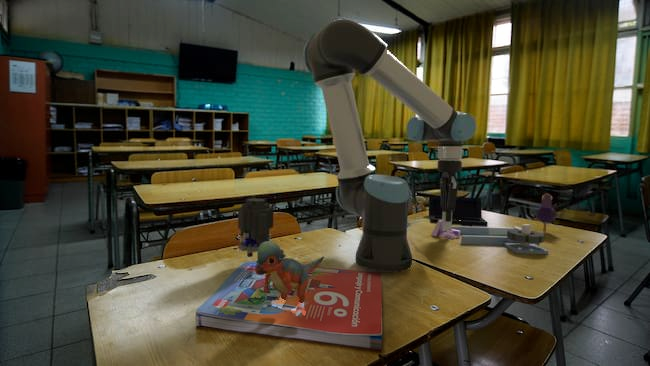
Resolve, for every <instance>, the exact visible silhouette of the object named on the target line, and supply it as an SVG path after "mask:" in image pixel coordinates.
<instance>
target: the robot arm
mask: <svg viewBox="0 0 650 366" xmlns="http://www.w3.org/2000/svg"><path fill="white" fill-rule="evenodd" d="M302 59H303V63H304V65H305V68H306V69H307V71H308V72H309V73H311V74H312V77H313V81H314V85H316V86H317V87H319V88H320V89H321V92H322V97H323V100H324V103H325V110H326V114H327V117H328V122H329V126H330V130H331V134H332V138H333V143H334V147H335V148H334V149H335V151H336V156H337V160H338V164H339V172H338V173H337V175H336V179H337V186H336V188H335V197H336V201H337V203H338V205H339V206H340V207H341V208H342V209H343V210H344V211H345V212H347V213H348V214H351V215H353V216H357V217H360V218H363V219H362V221H363V223H362V235H361V238H360V239H359V243H358V247H357V249H356V252H355V260H354V261H356V262H355V264H356V263H357V264H358V266H359V267H361V268H364V269H366V270H370V271H375V270H376V272H387V273H389V272H390V273H391V272H393V273H394V271H396V272H402V271H401V270H404V271H407V270H409V269H411V268H412V267H411V265H412V266H413V256H412V250H411V247H410V244H409V240H408V236H407V232H408V230H407V229H408V227H407V222H408V213H409V212H408V200H409V189H410V186H409V184H408V182H407V180H405V179H403V178H402V177H398V176H394V175H388V174H377V170H376V167H375V166H374V165H372V164H370V162H369V158H368V154H367V147H366V144H365V140H364V134H363V130H362V125H361V120H360V116H359V111H358V107H357V101H356V98H355V93H354V89H353V85H352V84H353V83H352V81H353V79H354V77H355V74H356V72H357V73H358V74H359V75H361V76H369V77H370V78H371V79H372V80H374V82H375V83H377V84H379V85H380V86H381V87H382V88H384V90H386V91H388V93H389V94H391V95H392V96H393V97H395V98H396V99H397V100H398V101H399V102H401V103H402V104H403V105H404V106H406V107H407V108H408V109H409V110H411V112H413V113H414V114H415V115H416V116H413V117H411V118H410V119H409V120H407V122H406V128H405V132H406V135H407V138H408V139H409V140H410V141H412V142H414V141H415V142H416V141H417V142H438V145H437V146H438V147H437V159H439V160H438V161H437V171H438V172H439V173H442V176H441V178H440V179H439V184H440V185H439V186H440V187H439V189H440V190H439V191H440V195H439V196H441V207H442V211H443V216H442V230H443V231H451V230H452V226H453V224H452V212H453V211H455V206H456V198H457V197H458V191H459V186H460V183H459V182H458V181H457V180H458V178H457V173H461V172H462V170H463V169H462V167H463V162H462V161H461V159H463V153H464V152H465V151H464V149H463V143H464V141H468V140H471V139H472V137H473V136H474V135H475V133H476V132H477V131H476V130H477V122H476V119H475V117H474V116H473V115H472V114H470V113H467V112H466V113H465V112H461V111H457V110H456V109H454V108H453V107H452V106H451V105H450V104H449V103H448V102H446V101H445V100H444V99H443V98H441V96H440V95H438V94H437V93H436V92H435V91H434V90H433V89H432V88H430V87H429V86H428V85H427V84H426V83H424V82H423V81H422V80H421V79H420V78H419V77H418V76H417V75H416V74H415V73H413V72H412V71H411V70H410V69H409V68H408V67H406V65H404V64H403V63H402V62H401V61H399V59H397V57H395V56H394V55H393V54H392V53H391V52H390V51H389V50H388V44H387V43H386V42H385V41H383V39H381V38H380V37H379V36H378V35H377V34H376V33H374V31H373V32H372V31H371V30H370V29H369V28H367V27H365V26H364V25H362V24H360V23H359V22H357V21H354V20H352V19H351V20H350V19H346V18H345V19H344V18H341V19H340V18H338V19H335V20H333V21H331V22H328V24H326V25H325V26H324V27H322V28H321V29H319V31H316V32H315V33H313V34H312V35H311V36H310V37H309V38H308V40H307V41H306V43H305V44H304V47H303V51H302ZM355 71H356V72H355ZM410 267H411V268H410ZM408 268H409V269H408ZM406 269H407V270H406Z"/></svg>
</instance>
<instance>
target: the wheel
mask: <svg viewBox="0 0 650 366" xmlns="http://www.w3.org/2000/svg"><path fill="white" fill-rule="evenodd" d="M521 232H522V228H521V229H514V230H512V229H511V230H508V232H507V235H506V236H507V238H509V239H511V240H514V241H518V242H524V243H526V242H527V243H540V244H542V243H545V241H546V234H544V232H539V231H536V230H531V233H530V234H521Z"/></svg>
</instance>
